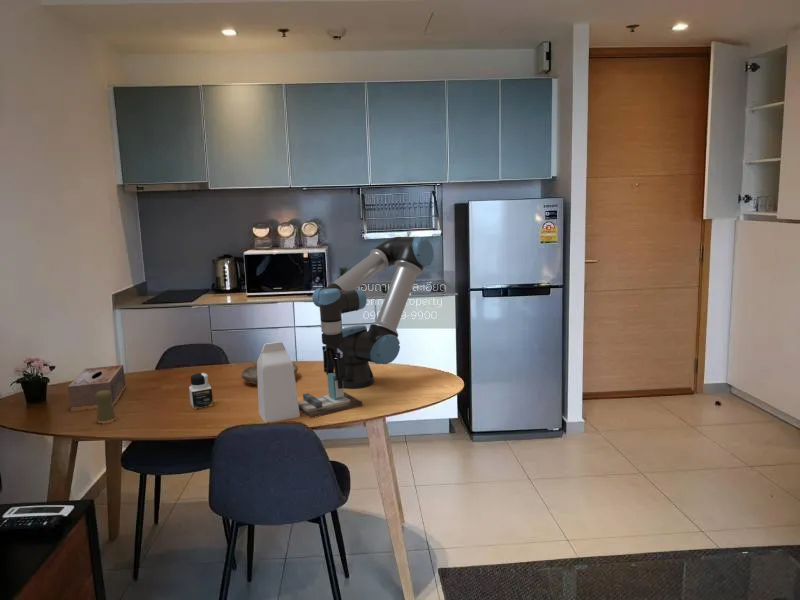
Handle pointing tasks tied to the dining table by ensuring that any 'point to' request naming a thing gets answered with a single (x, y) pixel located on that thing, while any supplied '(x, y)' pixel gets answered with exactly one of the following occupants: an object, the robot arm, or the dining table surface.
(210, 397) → the medicine bottle
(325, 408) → the board
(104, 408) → the green pepper shaker
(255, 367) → the ceramic bowl
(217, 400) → the dining table surface
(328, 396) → the teal cube on panel
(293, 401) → the milk
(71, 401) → the tissue box cover
